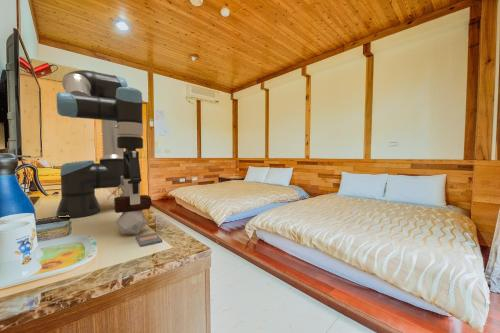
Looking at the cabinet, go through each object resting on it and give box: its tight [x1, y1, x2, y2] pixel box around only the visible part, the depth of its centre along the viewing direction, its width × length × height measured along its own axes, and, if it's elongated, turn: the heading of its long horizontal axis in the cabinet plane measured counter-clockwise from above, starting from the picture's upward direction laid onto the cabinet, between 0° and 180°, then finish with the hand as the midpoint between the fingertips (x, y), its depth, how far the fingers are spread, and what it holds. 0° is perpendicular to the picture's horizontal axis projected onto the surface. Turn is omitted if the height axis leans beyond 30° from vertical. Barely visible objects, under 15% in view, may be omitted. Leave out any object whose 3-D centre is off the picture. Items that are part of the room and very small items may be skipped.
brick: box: [113, 194, 152, 214], centre depth 74 cm, size 11×4×5 cm, turn 127°
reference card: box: [135, 232, 163, 248], centre depth 68 cm, size 8×6×1 cm
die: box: [115, 210, 148, 235], centre depth 74 cm, size 8×9×10 cm
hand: (131, 200), depth 74 cm, fingers open, 13 cm apart
